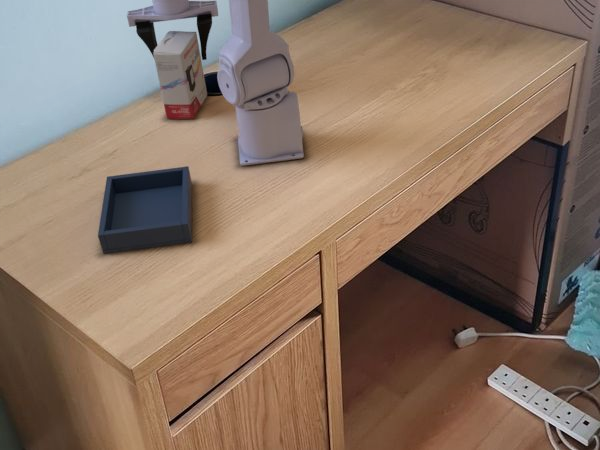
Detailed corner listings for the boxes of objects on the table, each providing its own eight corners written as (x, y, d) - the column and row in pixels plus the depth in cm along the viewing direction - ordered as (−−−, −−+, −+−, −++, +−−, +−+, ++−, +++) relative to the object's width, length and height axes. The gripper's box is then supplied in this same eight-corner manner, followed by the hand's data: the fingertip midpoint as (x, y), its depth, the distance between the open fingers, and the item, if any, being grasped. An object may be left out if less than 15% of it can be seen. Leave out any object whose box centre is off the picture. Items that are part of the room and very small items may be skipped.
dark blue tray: (191, 183, 114) (188, 166, 112) (191, 242, 103) (187, 223, 101) (111, 194, 113) (106, 176, 112) (103, 253, 103) (97, 235, 101)
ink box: (193, 120, 128) (181, 53, 121) (165, 119, 129) (151, 53, 122) (208, 94, 135) (197, 29, 128) (181, 93, 136) (169, 29, 129)
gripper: (212, -33, 128) (223, 44, 136) (122, -23, 128) (140, 55, 136) (212, -18, 122) (225, 62, 131) (119, -6, 122) (137, 73, 130)
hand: (181, 60), depth 133 cm, fingers open, 7 cm apart
